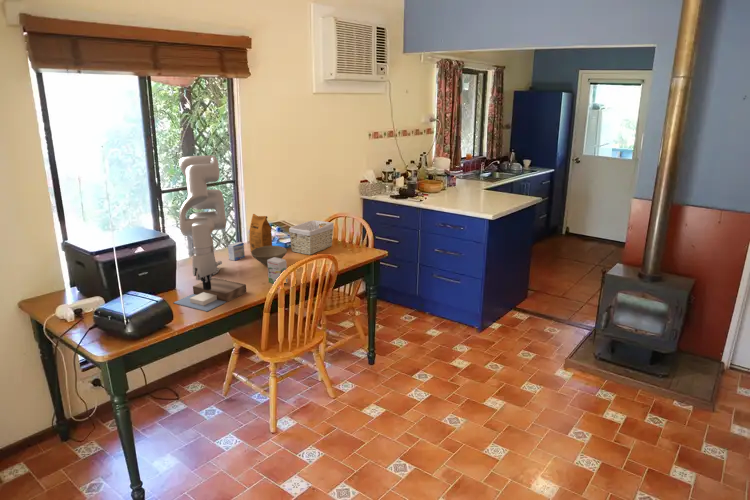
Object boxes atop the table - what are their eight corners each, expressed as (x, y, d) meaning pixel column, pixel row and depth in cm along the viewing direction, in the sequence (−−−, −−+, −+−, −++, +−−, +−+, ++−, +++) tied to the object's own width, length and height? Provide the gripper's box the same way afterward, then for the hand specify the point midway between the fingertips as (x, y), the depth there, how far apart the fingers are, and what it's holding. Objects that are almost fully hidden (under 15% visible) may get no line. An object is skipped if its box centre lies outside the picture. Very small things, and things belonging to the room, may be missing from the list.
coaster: (204, 296, 236) (203, 292, 235) (216, 299, 232) (216, 295, 231) (190, 302, 229) (189, 298, 228) (203, 305, 225) (202, 301, 225)
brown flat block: (214, 285, 250) (213, 277, 248) (246, 292, 241) (245, 284, 240) (193, 294, 239) (192, 286, 237) (226, 302, 230) (225, 293, 229)
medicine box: (234, 261, 285) (233, 246, 283) (228, 259, 287) (227, 244, 285) (245, 257, 292) (243, 242, 289) (239, 256, 294) (238, 241, 291)
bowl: (269, 272, 267) (268, 257, 265) (244, 266, 277) (243, 251, 274) (294, 262, 282) (293, 248, 279) (269, 257, 291) (268, 243, 289)
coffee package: (260, 248, 309) (258, 211, 302) (275, 251, 301) (272, 214, 295) (247, 252, 301) (244, 215, 295) (261, 256, 294) (259, 218, 287)
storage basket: (313, 242, 320) (312, 219, 316) (335, 246, 312) (334, 222, 308) (288, 252, 300) (287, 227, 296) (311, 256, 292) (310, 231, 288)
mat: (193, 294, 238) (193, 293, 238) (226, 302, 230) (226, 301, 229) (173, 303, 229) (173, 302, 229) (207, 311, 220) (207, 310, 220)
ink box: (268, 282, 253) (266, 259, 250) (275, 279, 257) (273, 256, 254) (280, 285, 249) (279, 262, 245) (288, 282, 253) (286, 259, 249)
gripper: (209, 244, 235) (213, 282, 240) (183, 253, 222) (188, 293, 227) (221, 246, 231) (225, 285, 237) (196, 255, 219) (201, 296, 224)
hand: (207, 289), depth 232 cm, fingers closed
